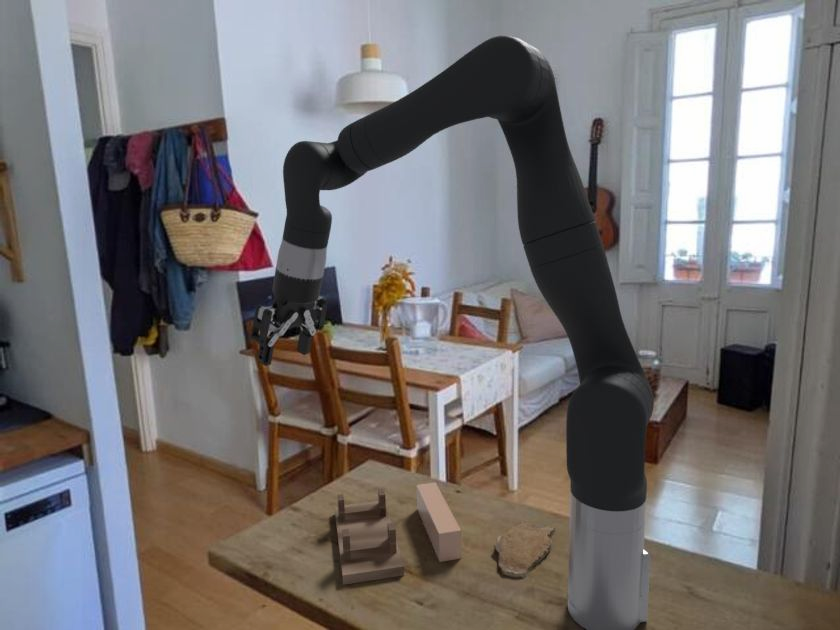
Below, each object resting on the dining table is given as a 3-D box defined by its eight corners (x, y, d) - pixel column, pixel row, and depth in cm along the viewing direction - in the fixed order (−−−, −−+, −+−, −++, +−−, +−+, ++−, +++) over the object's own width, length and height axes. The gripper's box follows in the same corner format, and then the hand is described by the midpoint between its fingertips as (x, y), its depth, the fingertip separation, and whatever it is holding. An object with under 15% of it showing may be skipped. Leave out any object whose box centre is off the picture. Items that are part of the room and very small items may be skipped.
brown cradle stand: (334, 514, 104) (333, 485, 103) (384, 507, 106) (383, 479, 105) (343, 584, 85) (341, 550, 84) (404, 575, 86) (402, 541, 85)
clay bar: (436, 507, 106) (435, 482, 105) (461, 559, 90) (461, 530, 89) (417, 510, 105) (416, 484, 104) (439, 563, 90) (438, 533, 89)
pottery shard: (541, 593, 84) (557, 530, 98) (541, 578, 84) (557, 517, 97) (485, 581, 87) (508, 522, 101) (484, 567, 87) (507, 509, 100)
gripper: (282, 282, 86) (266, 378, 91) (346, 272, 97) (328, 358, 103) (249, 264, 89) (235, 358, 95) (315, 257, 101) (299, 341, 106)
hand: (284, 358), depth 99 cm, fingers open, 8 cm apart
